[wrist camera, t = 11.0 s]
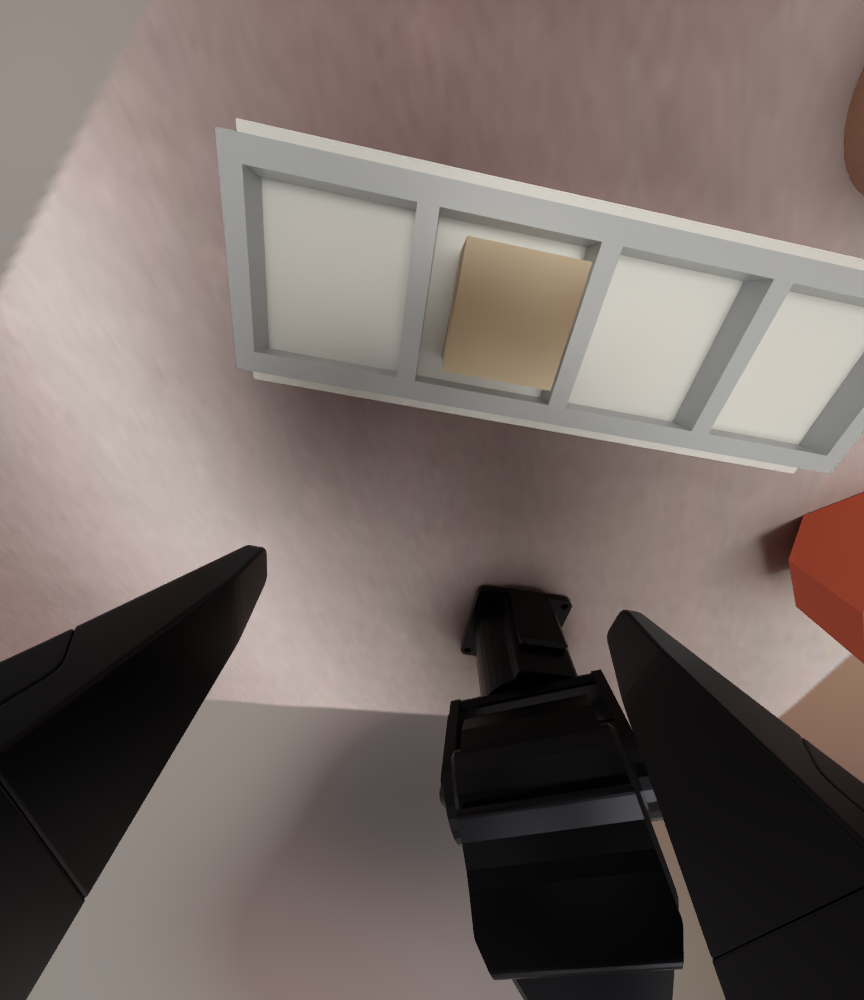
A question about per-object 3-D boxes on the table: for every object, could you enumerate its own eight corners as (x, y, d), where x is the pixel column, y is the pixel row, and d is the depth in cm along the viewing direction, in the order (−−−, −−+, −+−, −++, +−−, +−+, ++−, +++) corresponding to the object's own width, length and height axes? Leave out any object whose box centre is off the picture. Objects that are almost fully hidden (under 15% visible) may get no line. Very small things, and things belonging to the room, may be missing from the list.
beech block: (526, 372, 17) (550, 390, 13) (442, 356, 16) (443, 371, 13) (555, 271, 15) (592, 262, 11) (460, 252, 14) (467, 235, 11)
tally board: (777, 466, 20) (820, 486, 17) (262, 375, 18) (237, 385, 16) (909, 277, 15) (987, 273, 13) (249, 129, 13) (212, 96, 11)
